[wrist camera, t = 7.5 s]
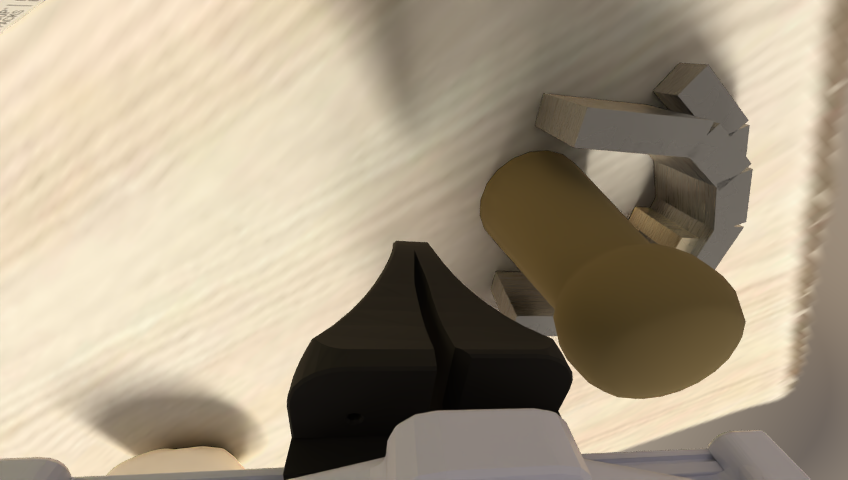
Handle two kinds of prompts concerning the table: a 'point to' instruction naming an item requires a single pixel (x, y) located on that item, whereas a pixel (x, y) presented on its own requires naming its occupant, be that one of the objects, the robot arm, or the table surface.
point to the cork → (610, 281)
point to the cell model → (178, 461)
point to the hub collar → (657, 171)
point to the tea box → (15, 11)
